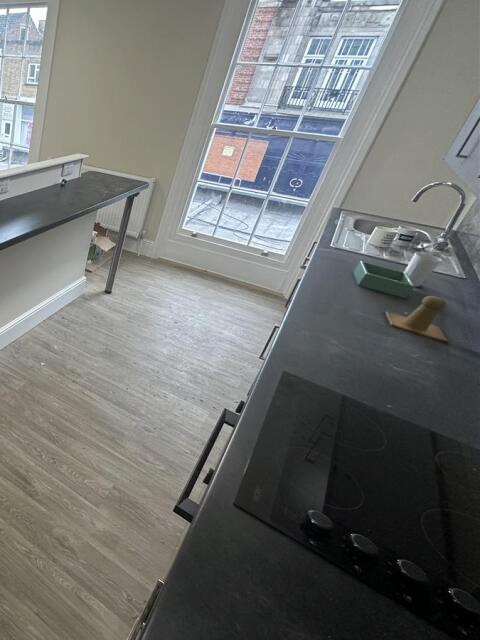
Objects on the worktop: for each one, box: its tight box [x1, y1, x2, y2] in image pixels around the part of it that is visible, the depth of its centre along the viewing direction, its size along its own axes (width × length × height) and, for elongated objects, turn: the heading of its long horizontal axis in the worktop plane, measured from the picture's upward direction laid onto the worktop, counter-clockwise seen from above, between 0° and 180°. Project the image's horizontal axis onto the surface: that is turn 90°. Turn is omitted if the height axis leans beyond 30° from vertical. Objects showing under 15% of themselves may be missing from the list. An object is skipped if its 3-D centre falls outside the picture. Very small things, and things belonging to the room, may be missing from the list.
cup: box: [403, 252, 443, 287], centre depth 164 cm, size 8×8×12 cm
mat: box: [384, 311, 448, 343], centre depth 136 cm, size 14×10×1 cm
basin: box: [352, 260, 416, 299], centre depth 161 cm, size 15×15×6 cm
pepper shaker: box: [404, 295, 447, 331], centre depth 133 cm, size 6×6×11 cm
